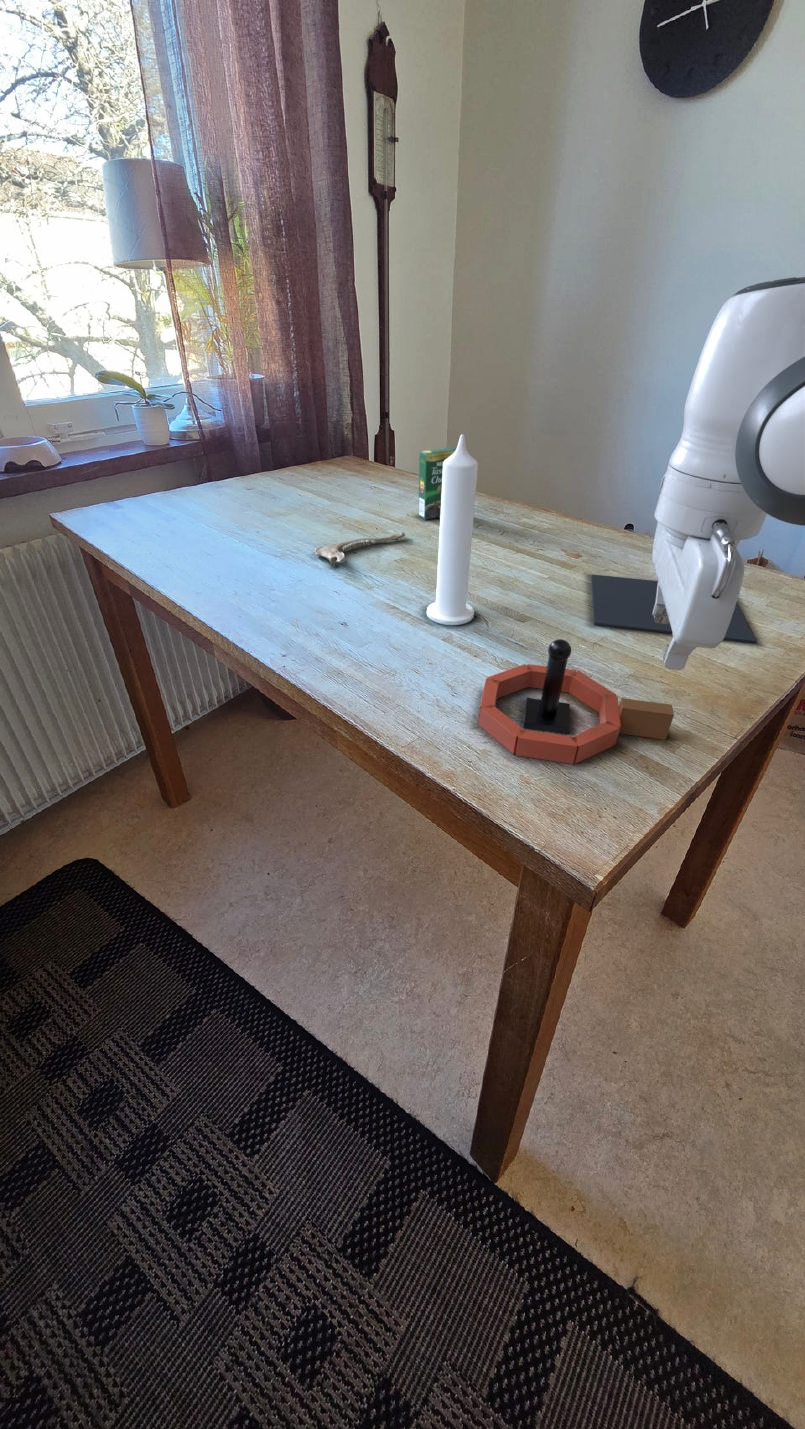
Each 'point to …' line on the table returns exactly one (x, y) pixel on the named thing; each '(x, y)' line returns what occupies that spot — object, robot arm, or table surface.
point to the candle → (455, 538)
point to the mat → (644, 607)
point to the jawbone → (350, 547)
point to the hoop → (567, 749)
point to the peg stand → (551, 694)
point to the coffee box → (431, 481)
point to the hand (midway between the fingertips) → (666, 641)
